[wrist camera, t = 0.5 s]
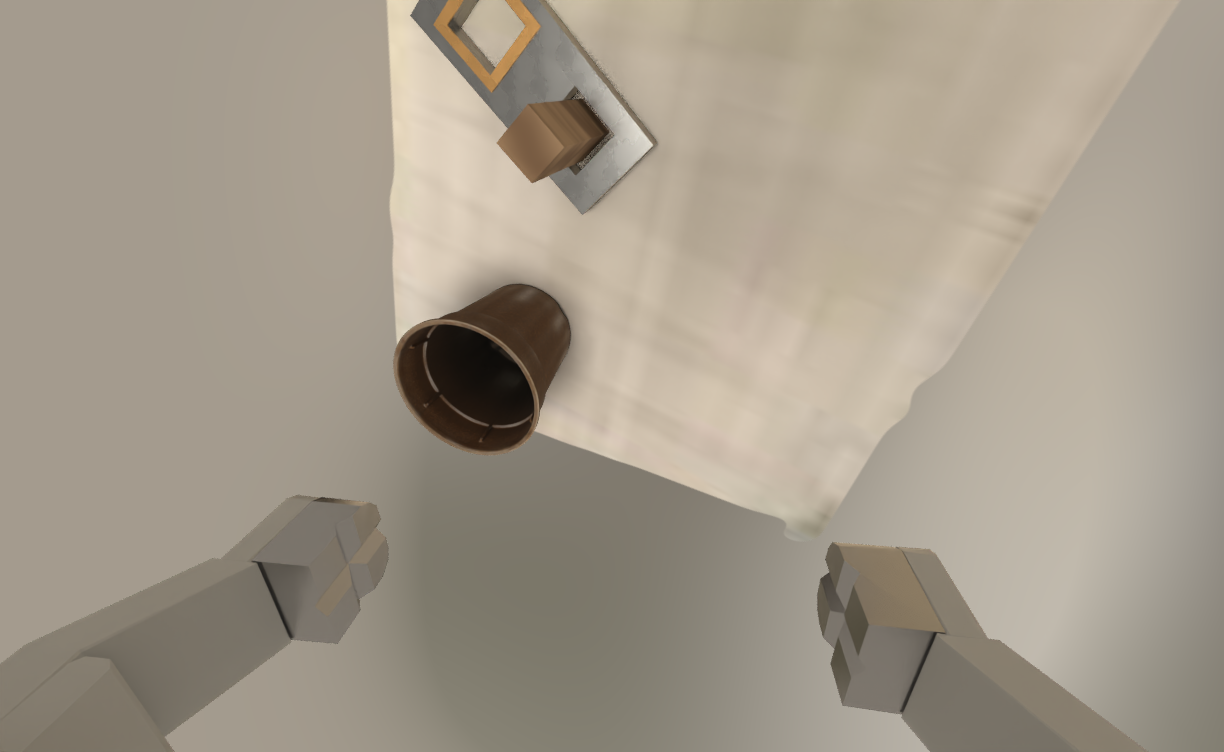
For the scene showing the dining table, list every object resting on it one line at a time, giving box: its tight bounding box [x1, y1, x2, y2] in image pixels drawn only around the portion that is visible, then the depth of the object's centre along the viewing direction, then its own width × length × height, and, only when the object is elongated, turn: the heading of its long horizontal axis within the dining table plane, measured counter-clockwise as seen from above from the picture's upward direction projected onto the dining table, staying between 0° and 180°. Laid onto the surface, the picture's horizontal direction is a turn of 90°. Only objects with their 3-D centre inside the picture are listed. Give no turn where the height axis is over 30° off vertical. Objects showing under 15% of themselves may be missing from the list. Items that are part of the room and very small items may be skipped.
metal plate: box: [410, 0, 657, 215], centre depth 48 cm, size 10×24×3 cm, turn 44°
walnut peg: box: [497, 99, 609, 183], centre depth 45 cm, size 4×4×14 cm
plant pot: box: [393, 284, 570, 455], centre depth 57 cm, size 16×16×16 cm
